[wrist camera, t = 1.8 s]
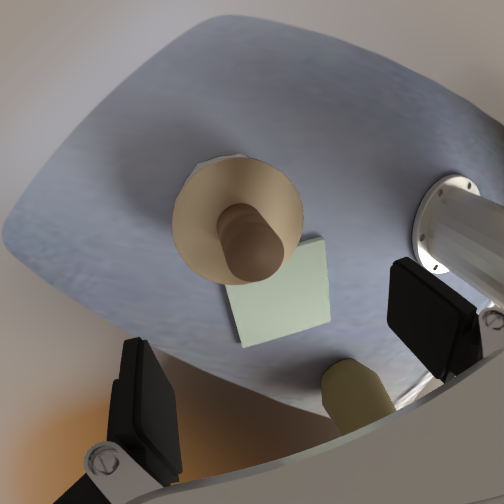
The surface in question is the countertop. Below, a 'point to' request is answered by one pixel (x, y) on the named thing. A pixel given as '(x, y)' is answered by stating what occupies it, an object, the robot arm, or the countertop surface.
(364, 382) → the squeeze bottle
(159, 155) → the countertop surface
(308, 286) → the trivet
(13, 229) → the countertop surface
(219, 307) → the countertop surface
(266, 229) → the lid
